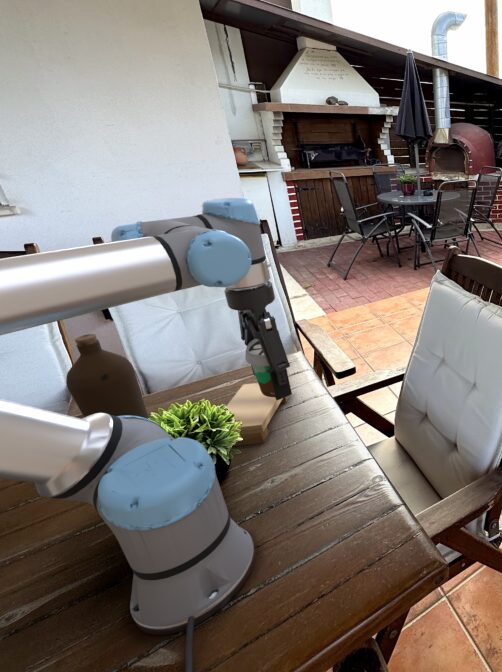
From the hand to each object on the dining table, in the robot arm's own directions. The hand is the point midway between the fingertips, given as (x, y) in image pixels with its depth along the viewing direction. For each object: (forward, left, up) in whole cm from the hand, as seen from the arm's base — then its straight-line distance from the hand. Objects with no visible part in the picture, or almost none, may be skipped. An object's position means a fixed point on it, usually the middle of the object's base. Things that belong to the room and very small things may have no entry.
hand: (272, 384), depth 81 cm
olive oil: (+15, +41, -18) cm, 47 cm away
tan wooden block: (+14, +12, -18) cm, 26 cm away
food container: (+1, +1, -1) cm, 2 cm away
